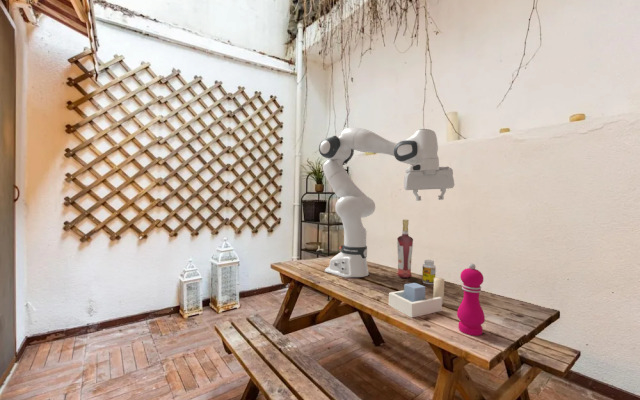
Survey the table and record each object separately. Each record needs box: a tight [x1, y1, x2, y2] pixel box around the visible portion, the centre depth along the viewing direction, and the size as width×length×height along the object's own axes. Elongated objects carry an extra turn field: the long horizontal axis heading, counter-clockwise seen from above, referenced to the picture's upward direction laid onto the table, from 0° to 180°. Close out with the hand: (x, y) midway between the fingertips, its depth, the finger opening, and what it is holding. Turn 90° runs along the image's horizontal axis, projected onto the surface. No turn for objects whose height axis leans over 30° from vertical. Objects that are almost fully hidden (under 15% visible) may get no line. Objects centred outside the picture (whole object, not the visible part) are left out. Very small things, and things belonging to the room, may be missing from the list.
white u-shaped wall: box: [388, 289, 443, 318], centre depth 100 cm, size 14×11×4 cm
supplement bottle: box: [421, 259, 437, 285], centre depth 130 cm, size 6×6×10 cm
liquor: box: [396, 219, 414, 279], centre depth 138 cm, size 7×7×28 cm
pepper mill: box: [456, 263, 486, 337], centre depth 84 cm, size 7×7×20 cm
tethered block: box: [403, 276, 445, 306], centre depth 103 cm, size 16×5×9 cm, turn 116°
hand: (429, 200), depth 119 cm, fingers open, 8 cm apart
